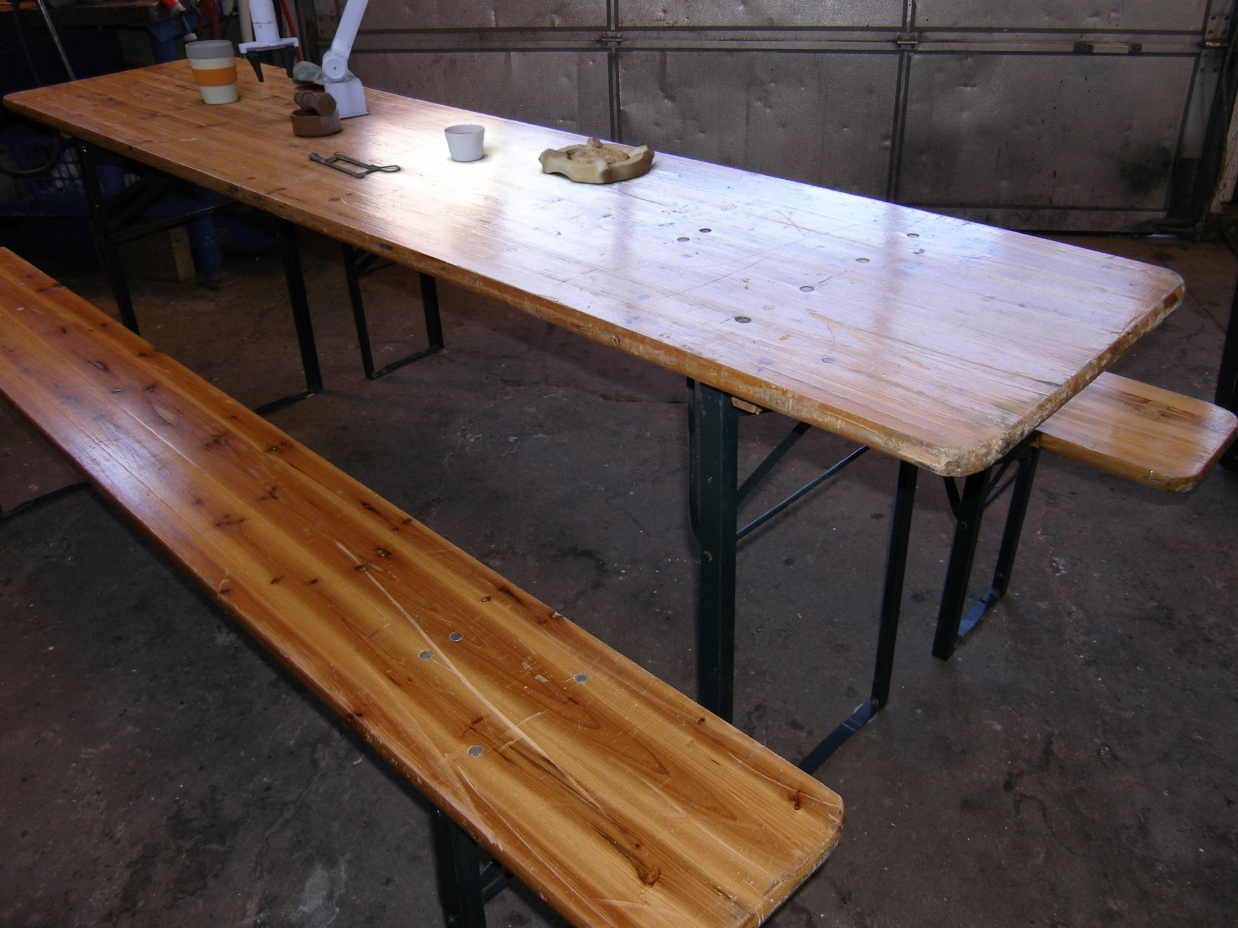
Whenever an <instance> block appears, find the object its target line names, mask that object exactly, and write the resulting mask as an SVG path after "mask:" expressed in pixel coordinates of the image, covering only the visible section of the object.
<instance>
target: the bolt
mask: <svg viewBox="0 0 1238 928" xmlns="http://www.w3.org/2000/svg"><path fill="white" fill-rule="evenodd" d="M292 99H293V102H294V103H295V104H296V105H297V106H299V108H302V109H303V110H311V109H315V110H316V111H317V113H318V114H319V115H320V116H321V117H326V116H331V115H334V113H335V110H336V106H337V103H336V101H335V99H334V98H333V97H332V95H331V94H330V93H325V92H323V93H316V94H314V92H313V91H312V90H311V89H306V90H300V91H297V92H295V93H294V94H293V97H292Z"/></svg>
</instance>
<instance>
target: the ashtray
mask: <svg viewBox="0 0 1238 928" xmlns="http://www.w3.org/2000/svg"><path fill="white" fill-rule="evenodd" d="M655 156H656V151H655V150H654V148H652V147H651V146H649V145H647V144H643V145H640V146H637V147H633V146H629V145H624V144H617V143H603V142H601V139H599V138H598V137H595V136H590V137H588V138H587V140H586V144H580V143H579V144H577V143H576V144H570V145H567V146H565V147H562V148H558V149H553V148H546V149H545V150H543V151H542V152H541V153H540V155H539V157H538V159H537V160H538V162H539V163H540V164H541V167H542V172H544V173H545V174H546V173H547V174H550V173H561V174H563V175H564V176H566V177H568V178H569V179H570V181H573V182H576V183H589V184H611V183H614V182H619V181H623V180H628V179H634V178H636V177H637V178H638V177H640V176H642V175H644V174H646V173H648V172H649V171H650V169H651V167H652V163H653V160H654V158H655Z"/></svg>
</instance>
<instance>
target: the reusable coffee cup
mask: <svg viewBox="0 0 1238 928" xmlns="http://www.w3.org/2000/svg"><path fill="white" fill-rule="evenodd" d="M185 54H186V57H187V58H188V60H189V62H190V63H189V64H190V70H191V72H192V75H193V78H194V81H195V84H196V85H197V86H198V87H199V91H200V93H201V96H202V98H203V101H204V103H205V104H209V105H222V104H223V105H225V104H230V103H234V102H237V101H238V100H239V96H238V95H239V94H238V85H237V82H238V80H239V79H238V70H237V69H238V68H237V63H236V62H235V49H234V46H233V44H232V41H230V40H228V39H227V40H225V39H211V40H210V39H209V40H199V41H193V42H189V43H187V44H185Z"/></svg>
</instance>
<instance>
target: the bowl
mask: <svg viewBox="0 0 1238 928" xmlns="http://www.w3.org/2000/svg"><path fill="white" fill-rule="evenodd" d="M289 117H290V121H291V126H292V131H293V133H294V134H296V135H297V136H299V137H302V138H322V137H328V136H332V135H335V134H337V133H338V132H339V131H340V130H341V129H342V122H341V119H340V116H339V110H338V108H336V110H335V113H334V115H331V116H326V117H321V116H320V115H319V114H318V113H317V111H316V110H315V109H311V110H303V109H302V108H301V107H299V108H296V109H293V110H291V111H290V112H289Z"/></svg>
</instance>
